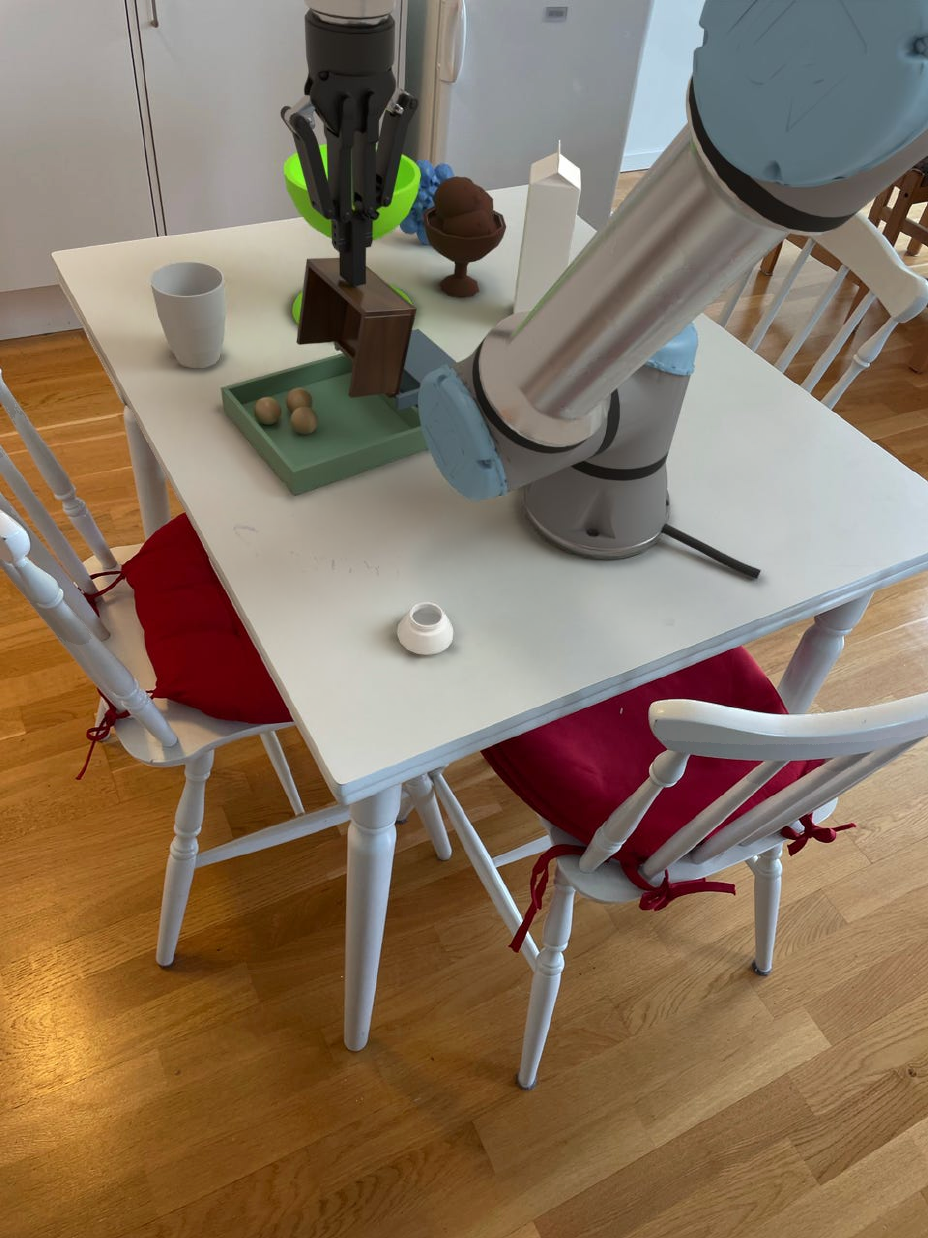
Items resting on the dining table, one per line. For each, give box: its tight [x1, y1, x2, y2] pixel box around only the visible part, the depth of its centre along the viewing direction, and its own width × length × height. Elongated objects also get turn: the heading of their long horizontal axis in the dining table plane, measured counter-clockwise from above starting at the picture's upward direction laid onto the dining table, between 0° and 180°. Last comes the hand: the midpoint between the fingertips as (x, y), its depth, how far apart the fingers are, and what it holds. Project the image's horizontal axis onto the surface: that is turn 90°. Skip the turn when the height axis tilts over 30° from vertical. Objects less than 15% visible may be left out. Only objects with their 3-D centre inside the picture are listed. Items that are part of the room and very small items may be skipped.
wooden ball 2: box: [285, 388, 313, 413], centre depth 107 cm, size 3×3×3 cm
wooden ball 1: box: [254, 397, 281, 425], centre depth 105 cm, size 3×3×3 cm
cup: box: [149, 261, 227, 369], centre depth 111 cm, size 8×8×10 cm
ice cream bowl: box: [423, 175, 507, 299], centre depth 126 cm, size 11×11×15 cm
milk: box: [512, 139, 582, 315], centre depth 119 cm, size 6×6×22 cm
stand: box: [334, 328, 457, 410], centre depth 109 cm, size 14×10×7 cm
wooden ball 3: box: [290, 407, 318, 435], centre depth 104 cm, size 3×3×3 cm
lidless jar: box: [396, 601, 454, 656], centre depth 86 cm, size 5×3×5 cm
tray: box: [220, 352, 429, 496], centre depth 106 cm, size 17×17×3 cm
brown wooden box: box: [296, 257, 417, 398], centre depth 101 cm, size 12×10×6 cm
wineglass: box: [283, 143, 421, 325], centre depth 118 cm, size 16×16×18 cm
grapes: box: [398, 158, 455, 245], centre depth 135 cm, size 12×7×12 cm, turn 113°
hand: (352, 279), depth 96 cm, fingers closed
